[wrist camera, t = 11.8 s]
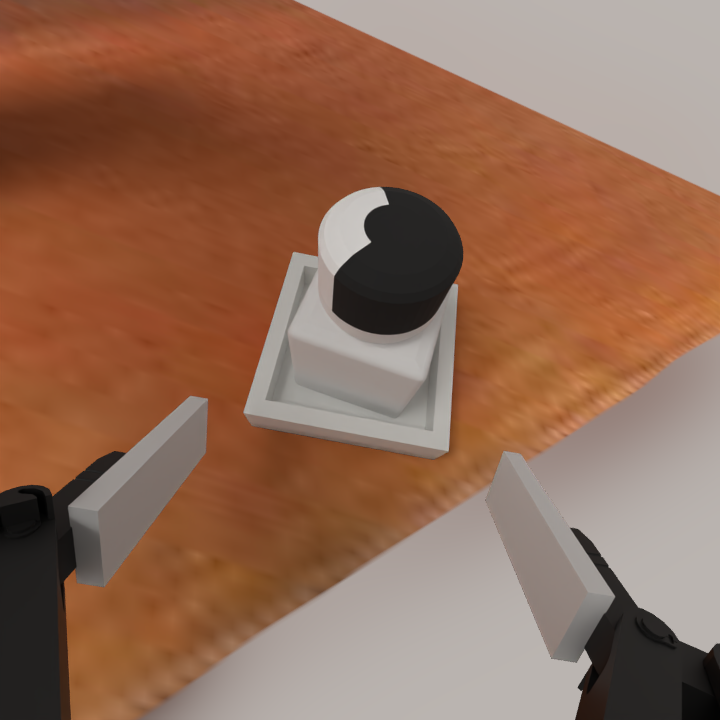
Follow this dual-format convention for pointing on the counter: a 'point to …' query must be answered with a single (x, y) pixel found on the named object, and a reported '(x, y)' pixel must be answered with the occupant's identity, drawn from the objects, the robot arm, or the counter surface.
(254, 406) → the grey square tray
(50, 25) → the counter surface
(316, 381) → the medicine bottle
